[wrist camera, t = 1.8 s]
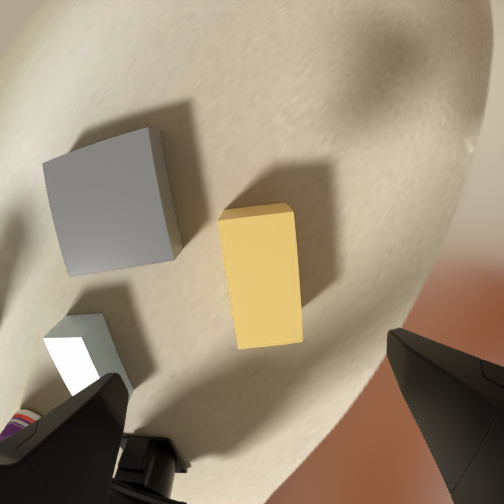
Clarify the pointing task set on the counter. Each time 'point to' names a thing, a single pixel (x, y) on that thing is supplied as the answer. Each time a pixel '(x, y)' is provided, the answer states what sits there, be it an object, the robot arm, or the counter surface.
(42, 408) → the counter surface
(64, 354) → the blue brick
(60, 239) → the base slab
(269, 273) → the ochre brick
